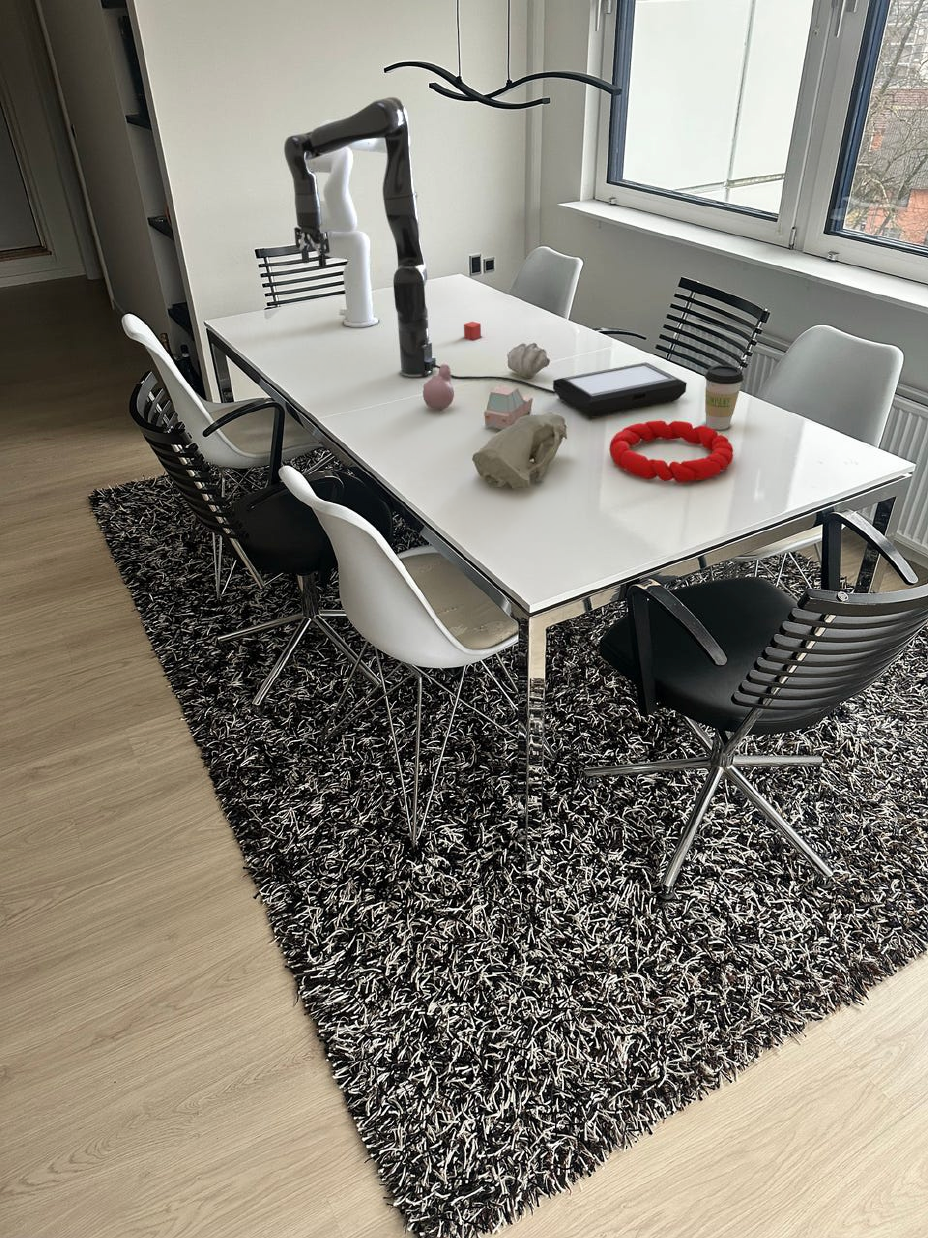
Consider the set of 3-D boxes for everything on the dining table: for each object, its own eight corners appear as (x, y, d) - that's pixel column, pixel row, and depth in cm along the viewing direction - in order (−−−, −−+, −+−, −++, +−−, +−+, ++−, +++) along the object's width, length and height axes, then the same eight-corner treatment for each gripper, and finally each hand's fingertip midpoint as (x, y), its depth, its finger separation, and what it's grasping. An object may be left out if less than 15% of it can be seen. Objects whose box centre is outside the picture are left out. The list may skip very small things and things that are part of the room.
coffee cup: (691, 421, 242) (698, 367, 233) (722, 415, 245) (730, 362, 236) (712, 434, 234) (719, 379, 226) (743, 428, 237) (752, 373, 228)
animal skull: (489, 499, 227) (452, 459, 211) (541, 418, 229) (509, 372, 213) (540, 522, 217) (505, 481, 201) (594, 437, 219) (564, 390, 203)
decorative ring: (590, 427, 228) (644, 464, 203) (694, 411, 235) (759, 444, 210) (589, 454, 232) (643, 493, 207) (692, 437, 239) (756, 473, 214)
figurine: (441, 398, 262) (440, 358, 255) (460, 410, 254) (458, 368, 247) (414, 404, 258) (412, 363, 251) (432, 416, 250) (430, 374, 243)
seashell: (522, 385, 268) (523, 352, 263) (503, 370, 280) (503, 338, 274) (553, 380, 271) (554, 348, 266) (533, 365, 283) (533, 334, 277)
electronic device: (589, 399, 240) (553, 377, 255) (587, 421, 244) (552, 398, 259) (687, 380, 251) (647, 359, 266) (684, 401, 254) (645, 380, 269)
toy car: (536, 415, 249) (537, 380, 243) (510, 434, 238) (510, 398, 232) (507, 409, 253) (507, 375, 247) (480, 428, 242) (479, 393, 236)
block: (472, 334, 312) (472, 321, 309) (480, 337, 309) (480, 323, 307) (464, 337, 309) (463, 324, 307) (472, 340, 307) (472, 326, 304)
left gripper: (376, 164, 331) (379, 214, 340) (407, 168, 320) (410, 219, 330) (391, 161, 335) (394, 211, 345) (422, 165, 325) (424, 216, 334)
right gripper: (284, 207, 271) (291, 263, 280) (312, 213, 262) (318, 271, 272) (304, 204, 275) (310, 259, 284) (332, 209, 267) (338, 266, 276)
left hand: (402, 215), depth 337 cm, fingers open, 9 cm apart
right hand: (314, 265), depth 278 cm, fingers open, 8 cm apart
